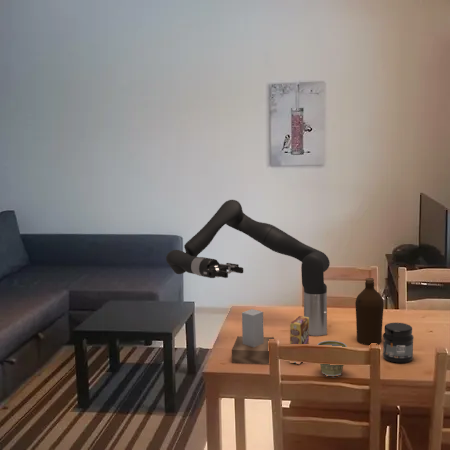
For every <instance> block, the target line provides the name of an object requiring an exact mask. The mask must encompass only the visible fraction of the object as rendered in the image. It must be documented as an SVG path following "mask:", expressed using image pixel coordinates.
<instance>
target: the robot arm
mask: <svg viewBox="0 0 450 450" xmlns="http://www.w3.org/2000/svg"><path fill="white" fill-rule="evenodd" d="M224 225H226V226H228V227H230V228H232V229H234V230H236V231H238V232H240V233H243V234H245V235H246V236H249V238H251V239H252V240H253V241H256V242H258V243H260V244H261V245H263V246H264V247H265V248H268V249H269V250H271V251H272V252H274V253H276V254H277V253H278V254H280V255H285V256H287V257H292V258H293V259H296V260H298V261H299V262H301V267H300V268H301V269H300V270H301V284H302V287H303V317H309V336H312V337H313V336H314V337H316V336H317V337H319V336H320V337H321V336H327V334H328V308H327V307H328V299H327V298H328V297H327V296H328V293H327V292H328V287H327V286H328V285H327V284H326V283H325V278H324V275H325V274H324V273H325V272H326V271H327V270H328V269H329V268H330V265H331V264H330V259H329V257H328V255H326V253H324V252H322V250H319V249H316V248H314V247H311V246H310V245H307V244H305V243H303V242H301V241H300V240H298V239H297V238H295V237H293V236H292V235H290V234H288V233H287V232H285V231H284V230H281V228H278V227H277V226H275V225H273V224H270V223H267V222H261V221H257V220H254V219H253V218H251V217H249V216H248V215H246V213H244V211H243V207H242V205H241V203H240V202H239V201H238V200H236V199H228V200H226V201H225V202H224V203H222V205H221V206H220V207H219V208H218V209H217V211H216V212H215V213H214V214H213V215H212V217H211V218H210V219H209V220H208V221H207V223H206V224H204V225H203V227H202V228H201V229H200V230H199V231H198V232H197V233H196V234H195V235H193V236H192V237H191V238H190V239H188V241H187V242H186V243H185V244H184V246H183V248H184V250H185V251H183V250H180V249H174V250H170V251H169V252H168V253H167V254H166V258H165V260H166V262H167V264H168V265H169V267H170V269H172V271H173V272H174V273H175V274H176V275H182V274H184V273H188V274H192V275H197V276H199V277H204V278H208V279H215V278H225V279H227V278H228V277H229V274H231V273H237V274H243V273H244V268H243V267H241V266H239V264H237V263H231V262H226V263H225V264H224V263H220V262H219V261H218V259H214V258H210V257H203V256H199V255H200V254H201V253H202V252H203V251H204V250H206V248H207V247H208V246H209V245H210V244H211V243H212V241H213V240H214V238H215V236H217V234H218V233H219V231H220V230H221V229H222V228H223V227H224Z"/></svg>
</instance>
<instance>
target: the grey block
mask: <svg viewBox="0 0 450 450" xmlns="http://www.w3.org/2000/svg"><path fill="white" fill-rule="evenodd" d="M241 327H242V328H241V330H242V335H241V336H242V337H243V344H245V345H248V346H251V347H256V346H258V345H261V344H263V343H264V337H265V336H264V311H262V310H257V309H253V308H251V309H248V310H246V311H243V312H241Z"/></svg>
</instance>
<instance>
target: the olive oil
mask: <svg viewBox="0 0 450 450" xmlns="http://www.w3.org/2000/svg"><path fill="white" fill-rule="evenodd" d="M364 285H365V286H364V289H363V290H362V291H361V292H360V293H359V294H358V295H357V296H356V298H355V302H354V303H355V319H356V321H355V324H356V341H357V343H359V344H361V345H365V346H370V345H369V344H371V343H378V344H377V345H379V344H381V343H382V342H383V341H382V339H383V320H384V318H383V317H384V307H385V305H384V304H385V303H384V299H383V297H382V295H381V294H380V293H379V292H378V290H376V289H375V279H374V278H373V277H366V278H365V282H364Z"/></svg>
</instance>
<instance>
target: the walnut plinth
mask: <svg viewBox="0 0 450 450" xmlns="http://www.w3.org/2000/svg"><path fill="white" fill-rule="evenodd" d="M269 339H274V340H275V337H272V336H271V337H269V336H268V337H267V336H264V343H263V344H261V345H258V346H256V347H251V346H248V345H245V344H243V337H242V335H241V336H239V335H238V336H237V337H236V339H235V342H234V344H233V346H232V349H231V363H232V364H245V365H246V364H251V365H253V364H254V365H269V364H268V363H269V351H268V341H269Z"/></svg>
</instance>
